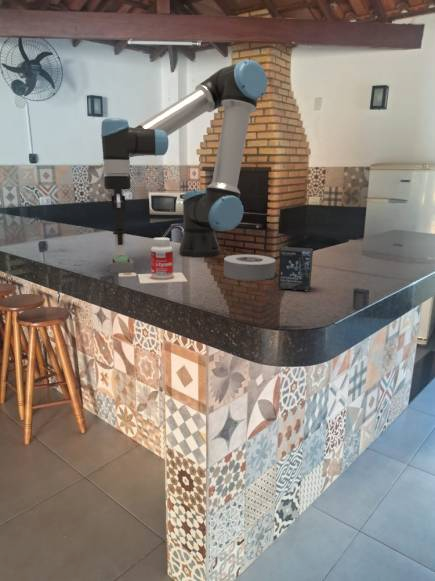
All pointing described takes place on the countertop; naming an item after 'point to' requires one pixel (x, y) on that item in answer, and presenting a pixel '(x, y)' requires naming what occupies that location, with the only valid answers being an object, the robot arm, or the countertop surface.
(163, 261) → the pill bottle
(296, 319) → the countertop surface
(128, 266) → the button base
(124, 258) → the button cap
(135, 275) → the card
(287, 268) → the box
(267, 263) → the tape roll
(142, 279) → the sheet
